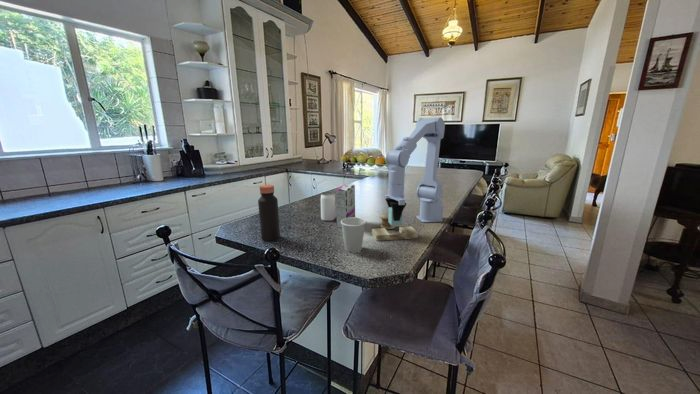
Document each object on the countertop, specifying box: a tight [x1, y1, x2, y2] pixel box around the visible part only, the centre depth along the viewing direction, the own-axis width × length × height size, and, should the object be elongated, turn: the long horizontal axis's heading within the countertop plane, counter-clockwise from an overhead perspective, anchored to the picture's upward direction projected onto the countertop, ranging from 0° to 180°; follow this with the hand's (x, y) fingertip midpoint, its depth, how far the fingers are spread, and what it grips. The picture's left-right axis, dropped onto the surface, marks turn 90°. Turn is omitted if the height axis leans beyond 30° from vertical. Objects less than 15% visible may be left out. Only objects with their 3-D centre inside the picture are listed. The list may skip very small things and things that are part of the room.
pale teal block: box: [387, 207, 403, 226], centre depth 103 cm, size 4×4×6 cm
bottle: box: [257, 184, 281, 242], centre depth 100 cm, size 7×7×20 cm
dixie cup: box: [341, 216, 367, 253], centre depth 92 cm, size 8×8×10 cm
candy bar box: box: [335, 183, 356, 229], centre depth 116 cm, size 11×5×16 cm, turn 161°
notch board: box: [371, 226, 419, 241], centre depth 105 cm, size 16×7×2 cm, turn 99°
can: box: [320, 191, 336, 222], centre depth 123 cm, size 6×6×12 cm
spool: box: [379, 213, 396, 231], centre depth 113 cm, size 6×6×5 cm
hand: (394, 218), depth 103 cm, fingers closed on pale teal block, 4 cm apart
